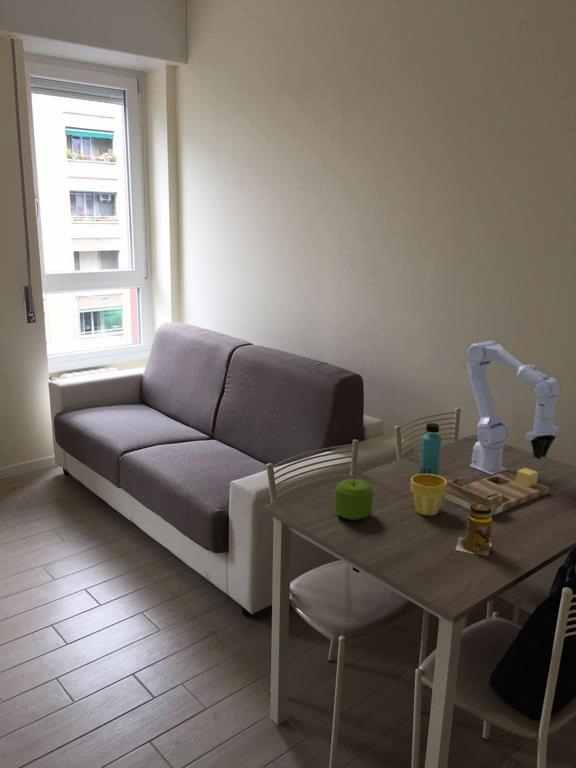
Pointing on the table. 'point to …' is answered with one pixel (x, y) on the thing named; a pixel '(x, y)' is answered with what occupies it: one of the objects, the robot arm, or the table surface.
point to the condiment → (477, 530)
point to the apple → (353, 499)
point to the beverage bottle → (430, 450)
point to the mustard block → (526, 477)
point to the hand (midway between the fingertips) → (539, 457)
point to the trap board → (493, 492)
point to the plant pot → (428, 492)
